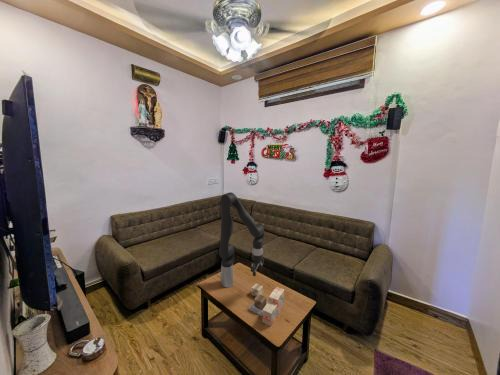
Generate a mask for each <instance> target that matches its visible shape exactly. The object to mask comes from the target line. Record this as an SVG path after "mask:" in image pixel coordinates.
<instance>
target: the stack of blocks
mask: <svg viewBox="0 0 500 375" xmlns="http://www.w3.org/2000/svg"><path fill="white" fill-rule="evenodd" d="M267 302H268V303H267V304H266V306H265V307H264V309H263V314H262V316H261V318H262V319H261V321H262V323H263V324H266V325H267V326H269V327H271V326H273V324H274V321H275V320H276V319H277V317H278V315H279V314H280V312H281V311H282V308H283V307H284V306H285V289H284V288H281V287H278V286H276V287H275V288H274V289H273V290H272V292H271V293H270V295H269V296H268V301H267Z"/></svg>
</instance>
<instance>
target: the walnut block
mask: <svg viewBox="0 0 500 375" xmlns="http://www.w3.org/2000/svg"><path fill="white" fill-rule="evenodd" d="M253 300H254V302H253V303H254V307H256V308H258V309H260V310H263V308H264V307H265V306H266V302H267V296H265V295H263V294H262V295H260V294H259V295H258V296H257V297H256V296H255V298H254V299H253Z"/></svg>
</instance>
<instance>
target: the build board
mask: <svg viewBox="0 0 500 375" xmlns="http://www.w3.org/2000/svg"><path fill="white" fill-rule="evenodd" d="M268 302H269V301H266V304H267V303H268ZM263 309H264V308H263ZM248 310H250V311H251V312H253V313H255V314H257V315H258V316H261V317H262V314H263V310H260V309H258V308H256V307H254V302H253V303H252V304H251V305H250V306H249V307H248Z"/></svg>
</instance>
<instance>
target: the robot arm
mask: <svg viewBox="0 0 500 375" xmlns="http://www.w3.org/2000/svg"><path fill="white" fill-rule="evenodd" d="M231 206H232V207H234V209H235V210H236V212H237V214H238V217H239V219H240V220H241V221H242V223H243V224H244V225H245V226H246V227H247V230H248V231H249V233H250V234H251V236H252V237H253V240H252V254H251V255H252V260H253V263H252V262H251V263H250V272H252V276H253V277H257V274H256V273H257V269H258V270H259V271H261V272H262V271H263V265H264V264H265V257H264V249H263V247H264V246H263V243H264V241H263V240H264V237H265V228H264V226H262V225H261V224H258V225H256V223H255V219H254V218H253V217H252V216H251V215H250V214H249V212H248V211H247V210H246V208H245V207H244V206H243V205H242V203H241V201H240V200H239V198H238V197H237V195H236V194H235V193H234V192H231V191H230V192H227V193H224V194H222V195H221V197H220V210H221V212H220V213H221V215H220V216H221V217H220V220H221V221H220V240H219V247H218V248H219V249H218V255H219V256H220V259H221V263H220V264H221V265H220V266H221V267H220V270H221V272H220V284H221V286H222V287H224V288H230V287H232V286H234V260H235V248H234V246H233V245H232V244H231V243H230V239H231V237H232V234H233V232H234V219H233V218H232V215H231Z"/></svg>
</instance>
